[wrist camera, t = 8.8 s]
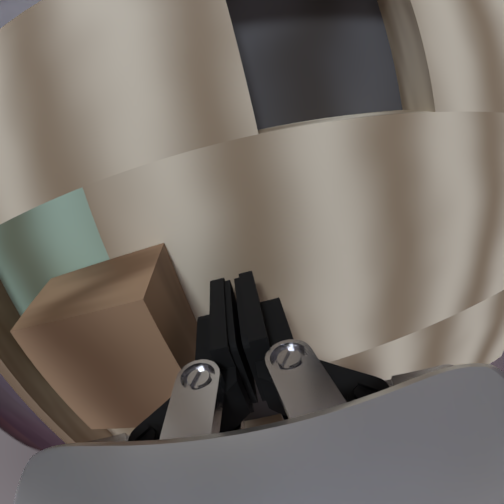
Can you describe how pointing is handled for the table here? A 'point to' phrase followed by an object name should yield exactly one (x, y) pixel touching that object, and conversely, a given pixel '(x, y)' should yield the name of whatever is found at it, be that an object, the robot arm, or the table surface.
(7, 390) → the table surface
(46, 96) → the box
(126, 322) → the walnut block
